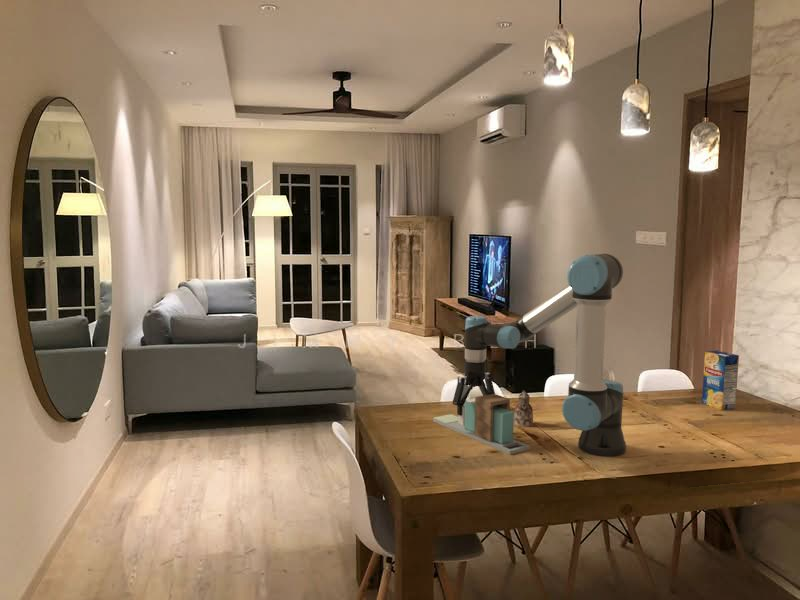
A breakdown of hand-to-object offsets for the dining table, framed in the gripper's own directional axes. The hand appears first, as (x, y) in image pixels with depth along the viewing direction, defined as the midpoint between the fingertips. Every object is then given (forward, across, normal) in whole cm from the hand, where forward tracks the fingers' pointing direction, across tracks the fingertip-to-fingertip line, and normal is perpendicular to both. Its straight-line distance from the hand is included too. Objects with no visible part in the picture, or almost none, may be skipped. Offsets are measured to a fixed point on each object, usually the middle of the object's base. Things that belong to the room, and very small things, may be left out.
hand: (473, 421), depth 236 cm
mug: (+4, -24, -24) cm, 34 cm away
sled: (+3, 0, +7) cm, 8 cm away
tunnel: (+3, 0, +9) cm, 10 cm away
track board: (+4, 0, +3) cm, 5 cm away
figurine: (+4, -22, +2) cm, 23 cm away
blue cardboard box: (+4, -108, +26) cm, 111 cm away
